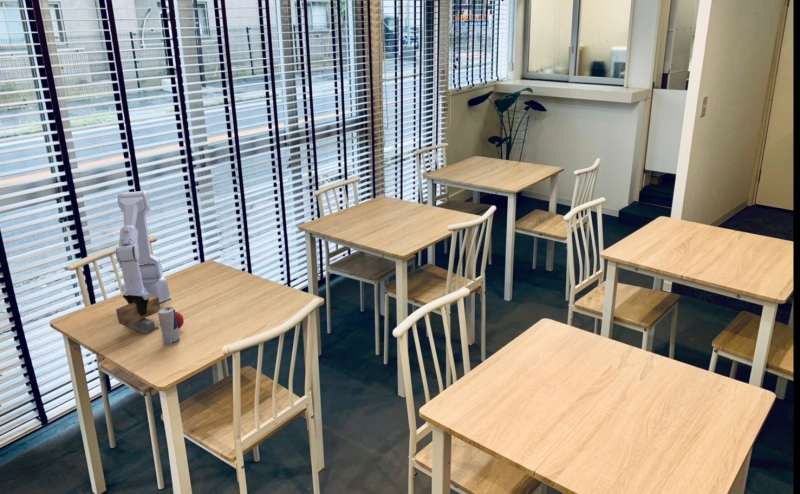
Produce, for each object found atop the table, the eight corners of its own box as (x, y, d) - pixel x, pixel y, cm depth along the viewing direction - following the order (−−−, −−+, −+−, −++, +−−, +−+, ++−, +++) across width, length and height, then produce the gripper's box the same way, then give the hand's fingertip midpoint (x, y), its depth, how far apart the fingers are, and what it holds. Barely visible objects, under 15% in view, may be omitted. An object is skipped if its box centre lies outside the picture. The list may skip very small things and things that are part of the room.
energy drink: (182, 338, 216) (177, 306, 212) (176, 346, 211) (170, 313, 207) (167, 338, 217) (161, 306, 213) (160, 345, 212) (154, 313, 208)
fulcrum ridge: (139, 320, 231) (137, 312, 230) (158, 328, 224) (157, 320, 223) (126, 325, 227) (125, 317, 226) (146, 334, 220) (144, 325, 219)
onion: (181, 334, 219) (178, 313, 216) (165, 334, 219) (161, 313, 217) (187, 326, 225) (183, 306, 222) (171, 326, 225) (167, 306, 222)
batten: (154, 308, 231) (151, 294, 229) (160, 310, 228) (158, 297, 226) (119, 323, 220) (115, 309, 218) (125, 326, 218) (122, 311, 216)
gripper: (110, 277, 220) (118, 312, 225) (133, 286, 212) (141, 322, 217) (128, 270, 226) (135, 305, 230) (152, 279, 217) (159, 314, 222)
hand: (139, 313), depth 224 cm, fingers closed on batten, 4 cm apart
